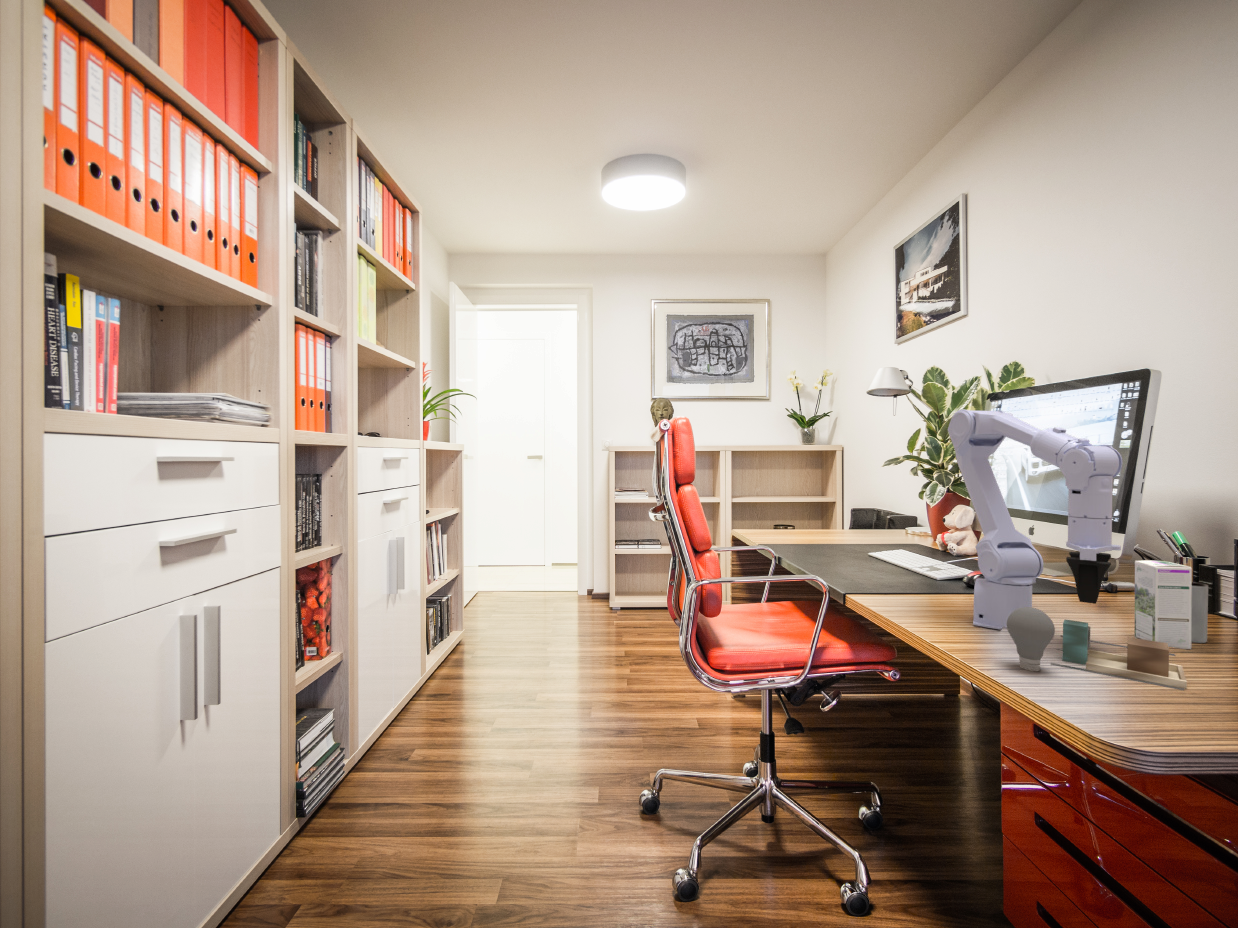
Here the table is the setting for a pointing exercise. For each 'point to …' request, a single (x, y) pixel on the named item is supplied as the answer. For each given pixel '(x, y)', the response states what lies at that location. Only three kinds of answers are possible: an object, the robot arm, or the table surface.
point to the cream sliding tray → (1109, 658)
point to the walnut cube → (1148, 656)
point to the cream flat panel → (1088, 637)
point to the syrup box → (1163, 602)
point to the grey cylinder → (1199, 612)
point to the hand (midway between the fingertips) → (1088, 598)
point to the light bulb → (1030, 635)
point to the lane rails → (1116, 675)
